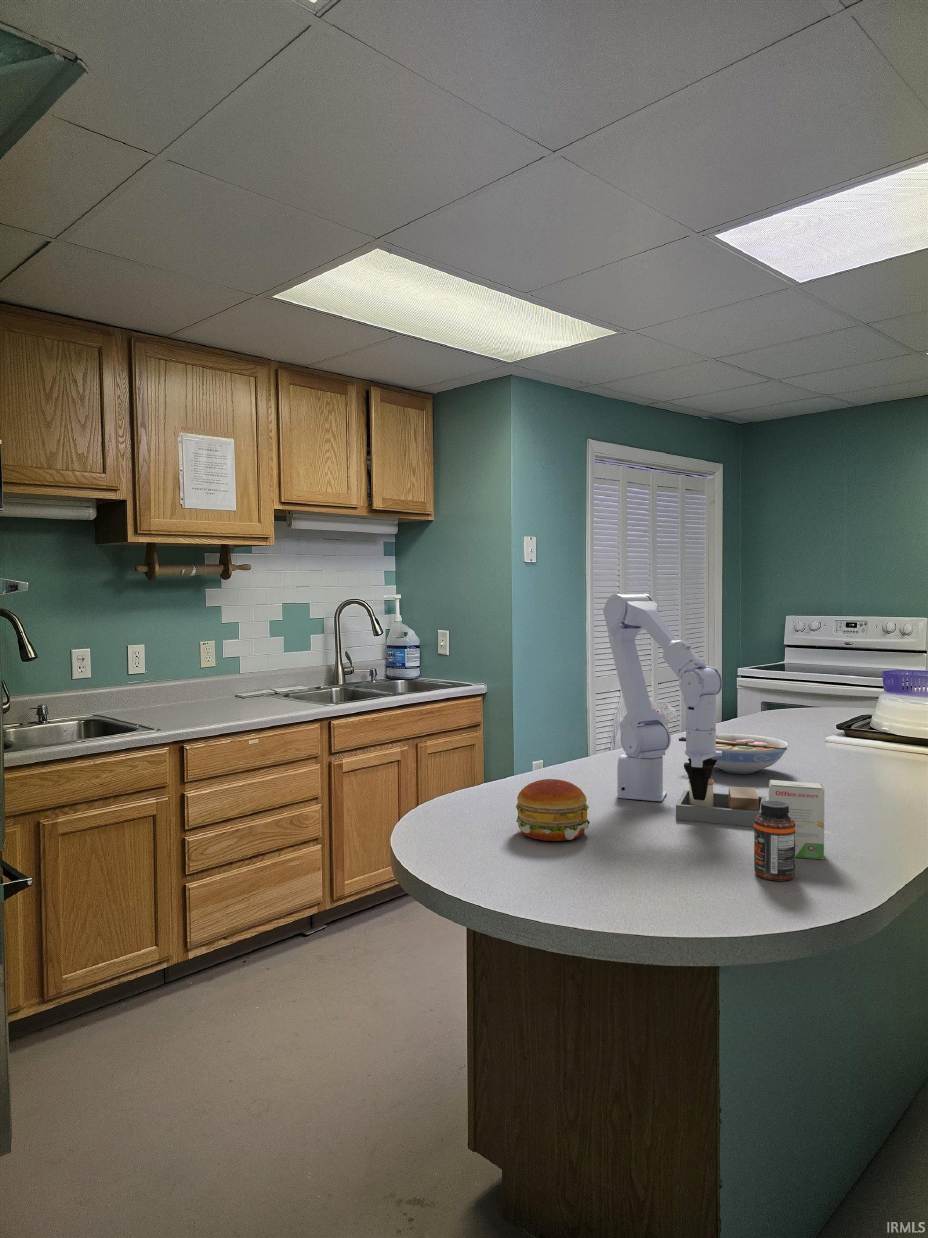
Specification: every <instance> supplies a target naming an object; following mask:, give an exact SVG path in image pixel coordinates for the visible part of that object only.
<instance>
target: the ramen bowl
mask: <svg viewBox="0 0 928 1238" xmlns="http://www.w3.org/2000/svg"><path fill="white" fill-rule="evenodd" d="M678 742H685V743H686V736H685V737H684V736H681V737H680V738H678ZM788 745H789V744H788V742H787V741H785V740H782V739H779V738H776V737H775V738H774V737H771V736H770V737H769V736H763V735H754V734H742V733H741V734H740V733H739V734H737V733H716V751H722V756H715V757H716V758H717V762H716V764H715V766H714V767H716V768H718V769H721V770H722V771H723V772H725V773H726V772H727V773H730V774H739V775H748V774H749V775H750V774H751V775H752V774H754V773H755V772H757V771H761V770H764V769H766V768H770V767H772V766H773V765H774V764H776V763H777V762H779V760H780V759H781V758H782V756H783V755H784V754H785V752H786V751H787V750H788V747H789V746H788Z"/></svg>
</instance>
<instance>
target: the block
mask: <svg viewBox="0 0 928 1238" xmlns="http://www.w3.org/2000/svg"><path fill="white" fill-rule="evenodd" d="M728 794H729V808H728V809H739V810H750V811H759V798H758V796H759V795H758V793H757V790H756V787H742V786H741V787H739V786H728Z"/></svg>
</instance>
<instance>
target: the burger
mask: <svg viewBox="0 0 928 1238" xmlns="http://www.w3.org/2000/svg"><path fill="white" fill-rule="evenodd" d="M516 799H517V803H516V805H515V808H516V811H517V818H516V820H515V822H516V823H517V825H518V829H519V831H520V832H521V834H522V835H524V836H525V837H528V838H532V839H535V840H541V841H546V842H547V841H548V842H549V841H551V842H552V841H553V842H555V841H556V842H557V841H568V840H569V841H572V840H573V839H576V838H579V837H580V836H583V834H584V832H585V831H586V830H587V829H588V828H589V825H590V823H591V821H590V819H589V818H588V809H589V808H590V807H589V805H588V804H587V796H586V794H585V793H584V792H583V791H582V789H581V788H580V787H579V786H577V785H575V784H573V783H572V782H570V781H567V780H563V779H559V778H558V779H557V778H555V779H554V778H545V779H538V780H536V781H532V782H531V783H527V785H525V786H524V787H523V788H522V789H521V790H520V791H519V792H518V795H517V798H516Z"/></svg>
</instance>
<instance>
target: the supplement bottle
mask: <svg viewBox="0 0 928 1238" xmlns="http://www.w3.org/2000/svg"><path fill="white" fill-rule="evenodd" d="M788 813H789V805H788V804H787V803H785V802H782V801H775V800H769V799H768V800H766V801H763V802H761V814H759V815H758V816H756V818H755V821H754V827H753V830H754V832H753V833H754V834H753V835H754V836H753V837H754V838H753V840H754V841H753V842H754V843H753V845H754V846H753V849H754V850H753V853H754V855H753V864H754V867H753V869H754V873H755V874H756V876H758V877H759V878H762V879H764V880H768V881H775V882H786V881H790V880H792V879H794V878H795V875H796V857H795V821H794V820H793V819H792V818H791V817H790V816H788Z"/></svg>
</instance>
